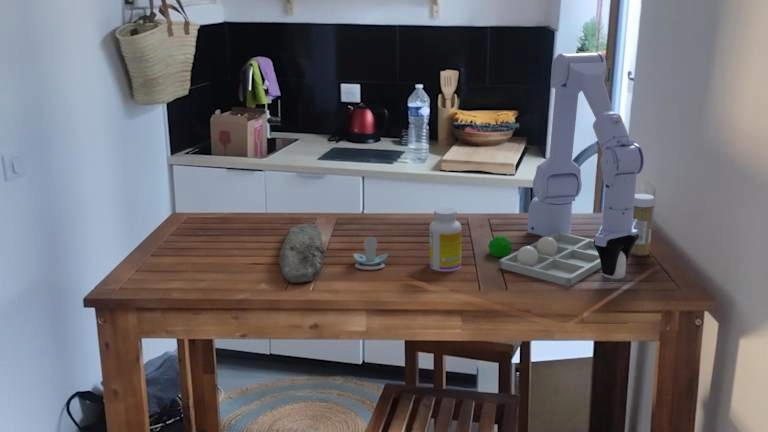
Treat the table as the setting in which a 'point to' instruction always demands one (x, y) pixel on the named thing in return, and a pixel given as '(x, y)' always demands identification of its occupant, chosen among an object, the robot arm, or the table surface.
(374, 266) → the pacifier
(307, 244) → the long grey stone
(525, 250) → the cream egg front
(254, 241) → the table surface
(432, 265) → the supplement bottle
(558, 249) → the egg tray
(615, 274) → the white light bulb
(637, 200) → the sprinkles bottle
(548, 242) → the cream egg middle
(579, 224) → the table surface
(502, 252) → the polyhedron
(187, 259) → the table surface
